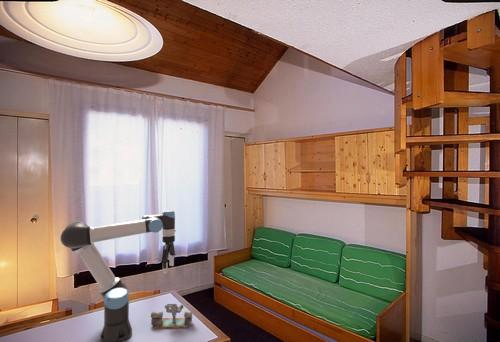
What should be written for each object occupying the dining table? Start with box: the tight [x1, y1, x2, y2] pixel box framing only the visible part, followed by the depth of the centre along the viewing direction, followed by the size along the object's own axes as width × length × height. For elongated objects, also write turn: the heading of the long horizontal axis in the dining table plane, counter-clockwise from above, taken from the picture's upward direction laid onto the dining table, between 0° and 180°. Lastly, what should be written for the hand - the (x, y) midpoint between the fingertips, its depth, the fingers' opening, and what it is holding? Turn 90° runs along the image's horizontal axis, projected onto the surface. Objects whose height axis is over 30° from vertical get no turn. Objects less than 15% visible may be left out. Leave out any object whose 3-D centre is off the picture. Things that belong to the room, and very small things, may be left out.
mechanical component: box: [164, 303, 184, 323], centre depth 153 cm, size 3×10×10 cm, turn 89°
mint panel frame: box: [150, 311, 193, 329], centre depth 154 cm, size 23×9×7 cm, turn 91°
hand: (168, 269), depth 167 cm, fingers open, 13 cm apart
